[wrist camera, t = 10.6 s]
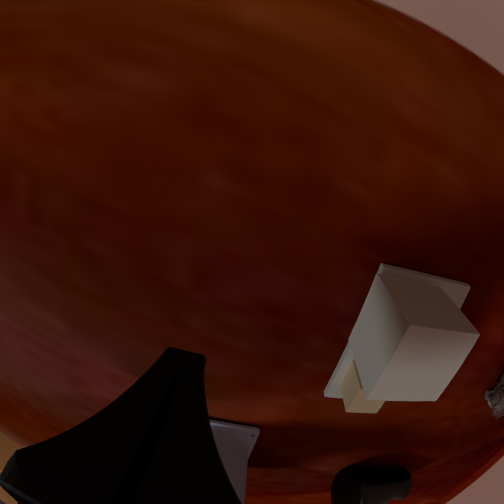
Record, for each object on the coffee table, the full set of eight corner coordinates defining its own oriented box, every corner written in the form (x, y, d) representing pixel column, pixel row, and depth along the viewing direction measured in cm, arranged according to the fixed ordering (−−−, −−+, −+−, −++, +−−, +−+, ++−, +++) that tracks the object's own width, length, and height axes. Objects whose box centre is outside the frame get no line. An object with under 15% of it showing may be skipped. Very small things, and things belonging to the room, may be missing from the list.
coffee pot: (354, 457, 28) (409, 448, 29) (295, 496, 37) (342, 491, 38) (368, 514, 21) (424, 497, 23) (300, 536, 30) (349, 528, 32)
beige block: (409, 347, 20) (435, 400, 15) (348, 339, 20) (366, 399, 15) (440, 287, 18) (480, 334, 13) (376, 272, 18) (409, 325, 13)
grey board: (402, 396, 24) (413, 425, 20) (323, 391, 24) (328, 424, 20) (467, 283, 19) (491, 307, 16) (380, 263, 19) (400, 289, 16)
